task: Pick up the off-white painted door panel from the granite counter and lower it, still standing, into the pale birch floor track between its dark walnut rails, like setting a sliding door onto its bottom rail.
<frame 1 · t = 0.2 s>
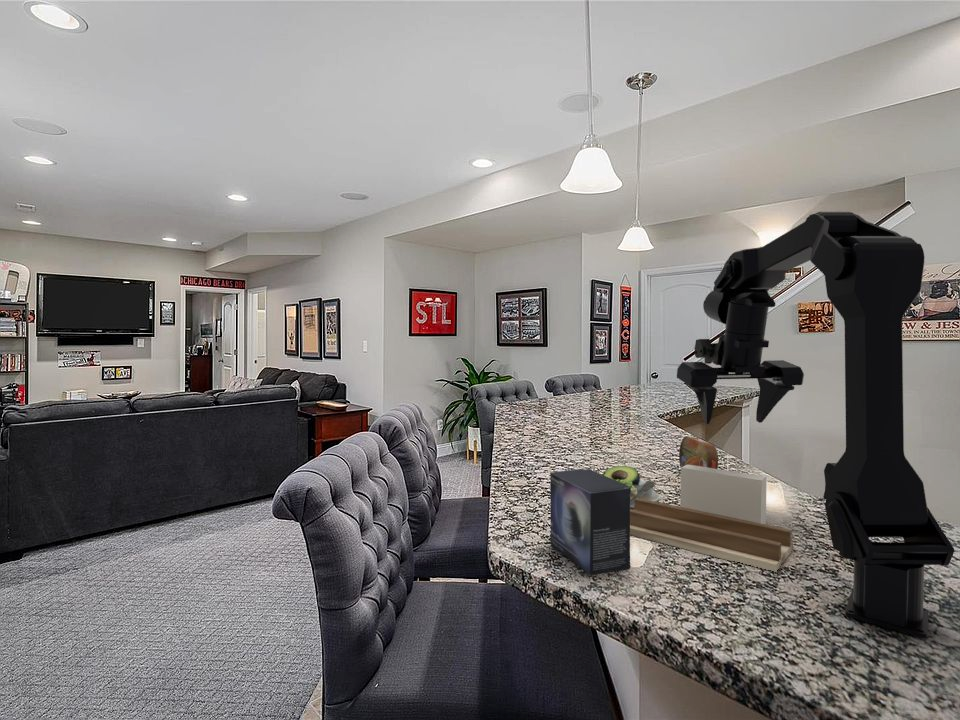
hand: (732, 422, 88), 15 cm above the bar counter, tool pointing down, fingers open, 9 cm apart
salad plate: (610, 497, 98), on the bar counter
floor track: (698, 539, 75), on the bar counter
small box: (587, 557, 69), on the bar counter
tin: (697, 480, 110), on the bar counter
door panel: (721, 521, 83), on the bar counter
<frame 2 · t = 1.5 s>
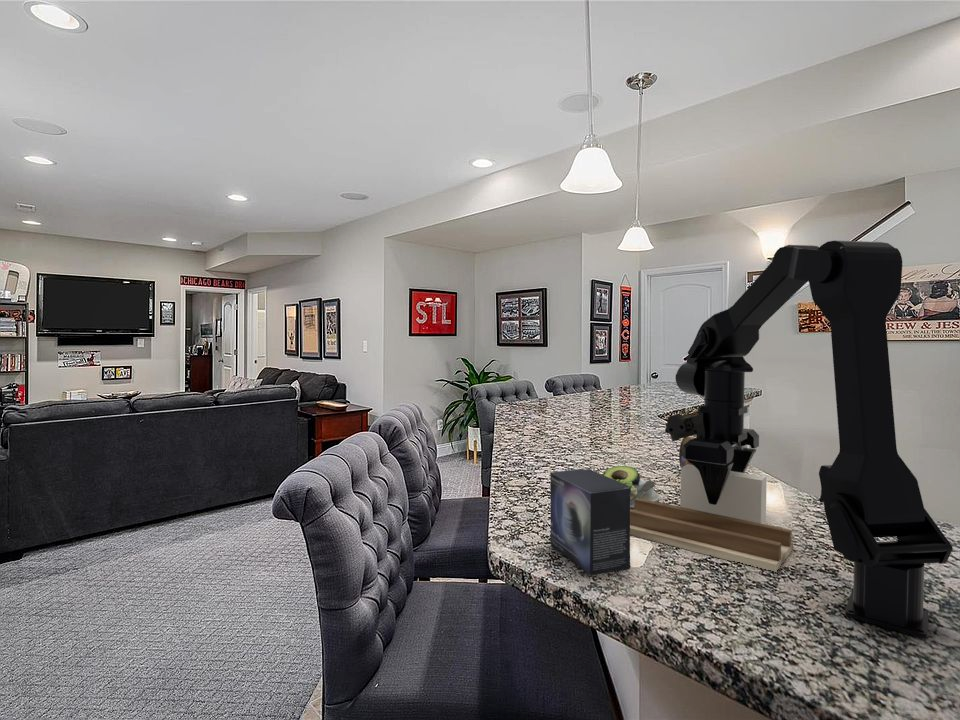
hand: (722, 497, 83), 4 cm above the bar counter, tool pointing down, fingers open, 9 cm apart
nothing on the bar counter moved.
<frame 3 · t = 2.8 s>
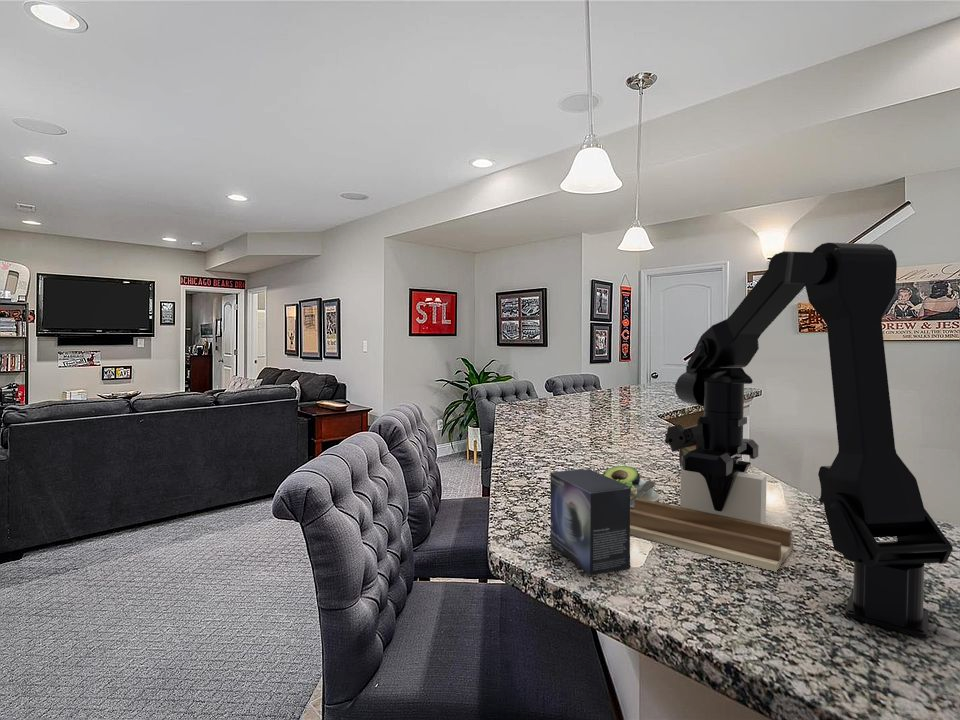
hand: (721, 508, 83), 2 cm above the bar counter, tool pointing down, fingers closed on door panel, 3 cm apart
door panel: (721, 521, 83), on the bar counter, touching gripper
everything else where it was.
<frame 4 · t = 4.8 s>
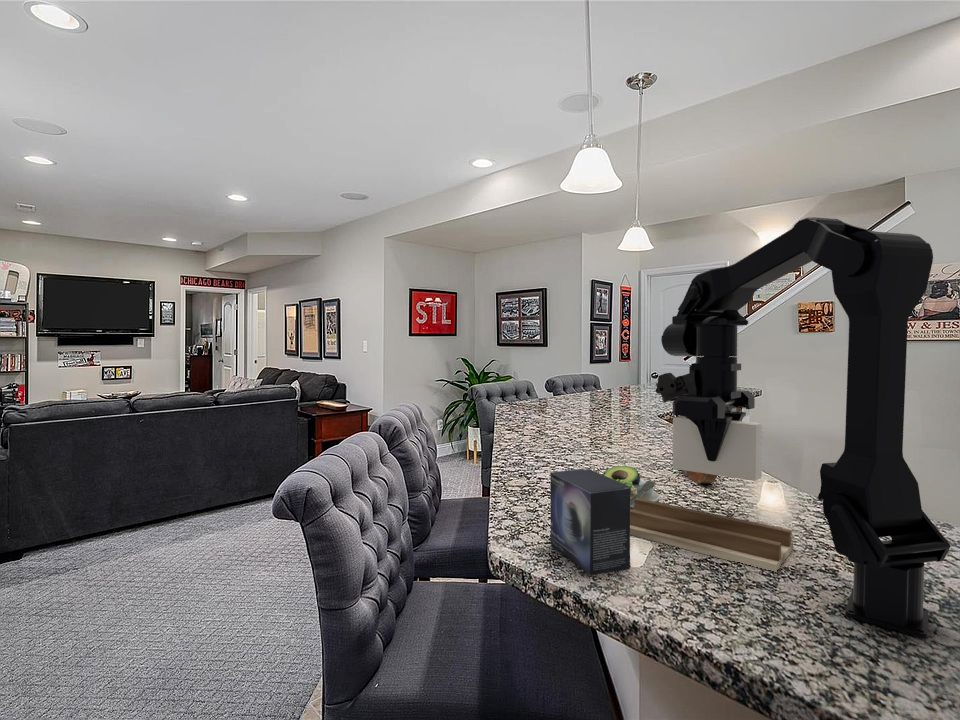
hand: (715, 459, 80), 11 cm above the bar counter, tool pointing down, fingers closed on door panel, 3 cm apart
door panel: (715, 472, 80), point 9 cm above the bar counter, touching gripper
everything else where it was.
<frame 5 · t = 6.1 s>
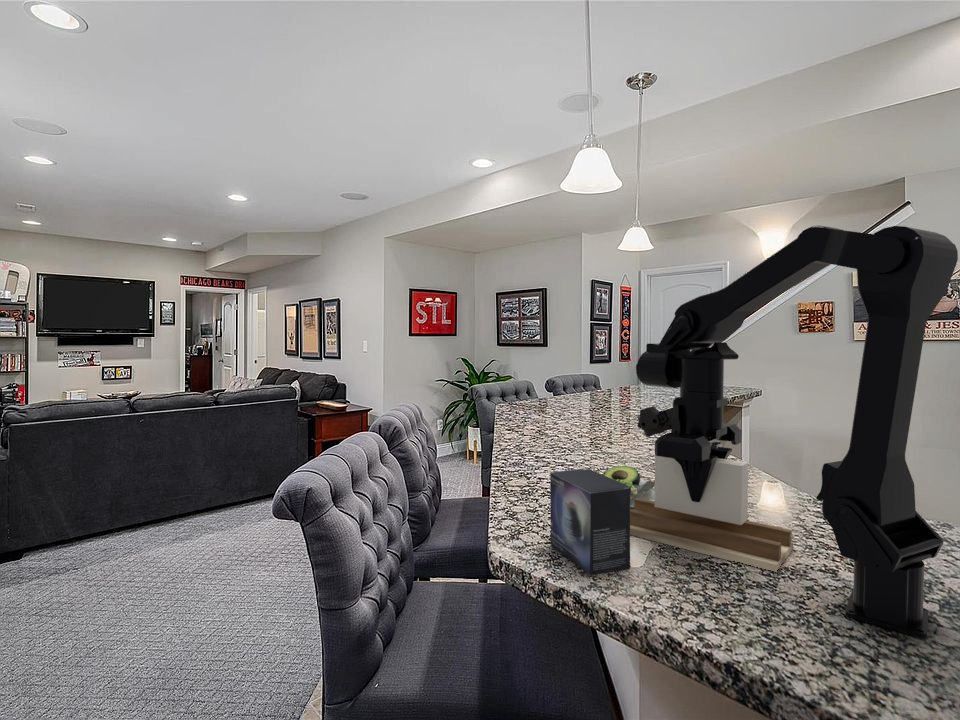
hand: (699, 499, 75), 6 cm above the bar counter, tool pointing down, fingers closed on door panel, 3 cm apart
door panel: (699, 513, 75), point 4 cm above the bar counter, touching gripper
everything else where it was.
when the fingers open (4 cm above the bar counter, at t = 7.0 s): door panel drops 1 cm, resting on floor track.
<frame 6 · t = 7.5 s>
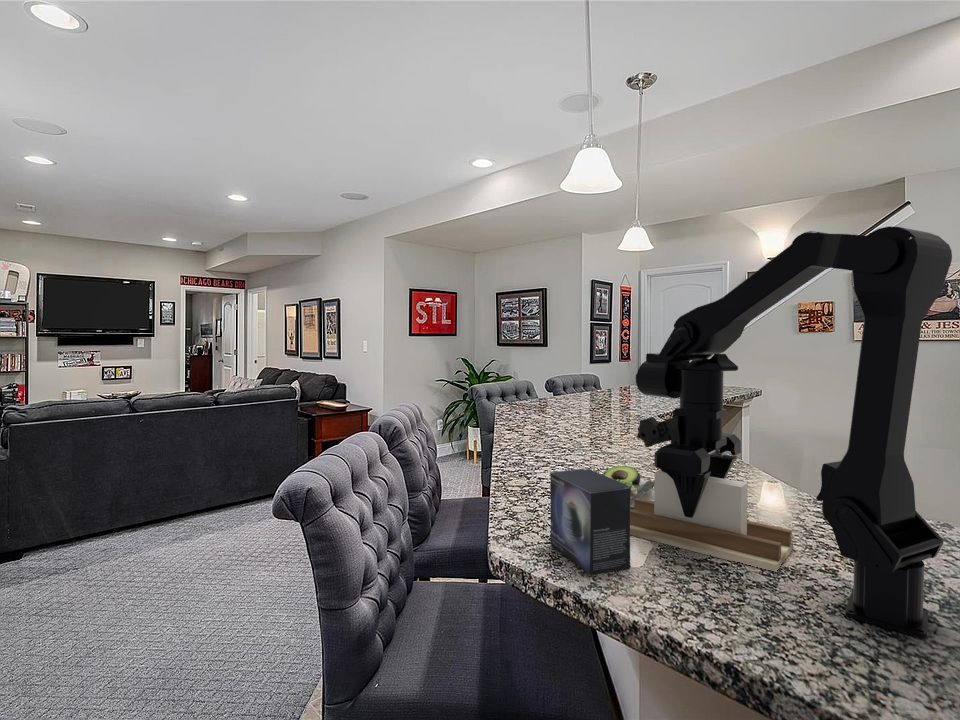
hand: (699, 509, 75), 4 cm above the bar counter, tool pointing down, fingers open, 8 cm apart
door panel: (698, 532, 75), point 1 cm above the bar counter, touching floor track
everything else where it was.
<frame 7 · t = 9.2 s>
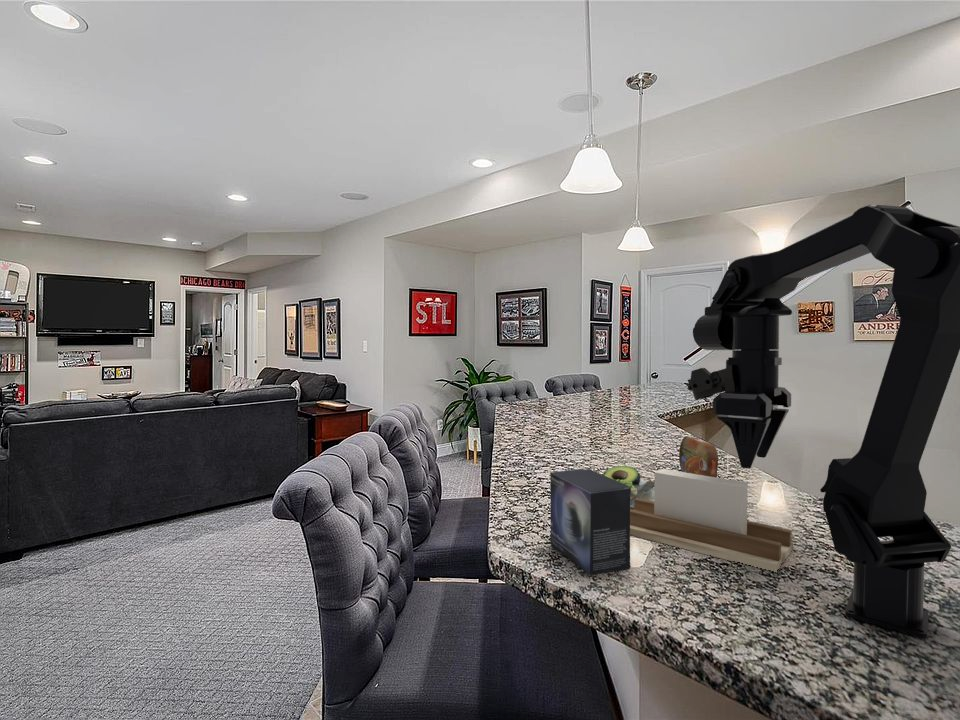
hand: (754, 462, 73), 12 cm above the bar counter, tool pointing down, fingers open, 9 cm apart
nothing on the bar counter moved.
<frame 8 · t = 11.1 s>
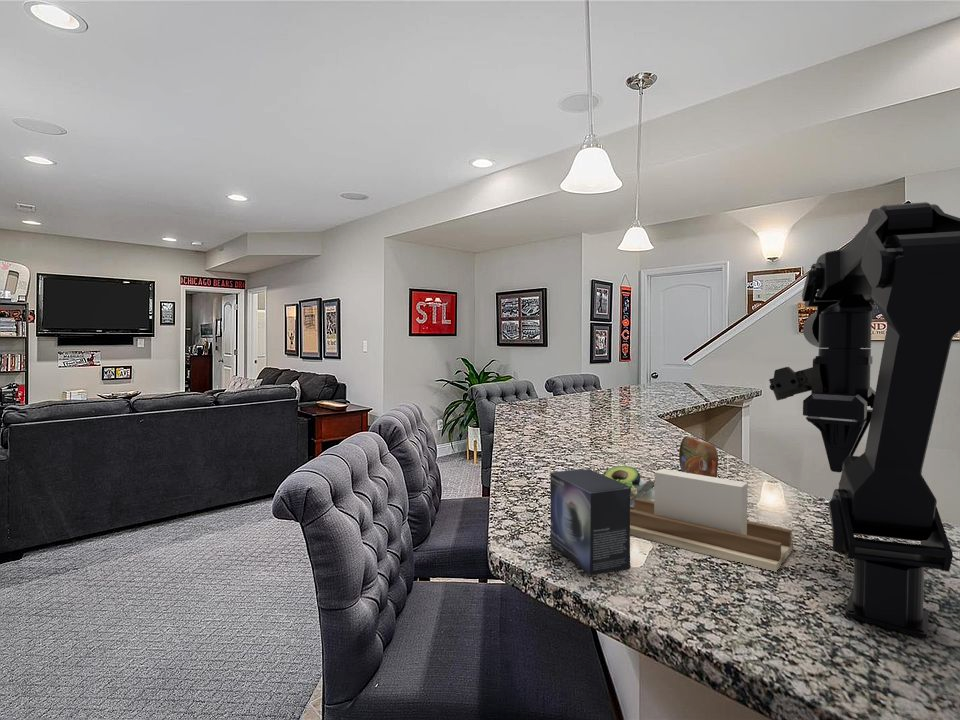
hand: (841, 465, 70), 12 cm above the bar counter, tool pointing down, fingers open, 9 cm apart
nothing on the bar counter moved.
at the end: door panel 0.0 cm off-centre on the floor track, point 1.0 cm above the floor track's base; door panel tilted 0°; the gripper is holding nothing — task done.
